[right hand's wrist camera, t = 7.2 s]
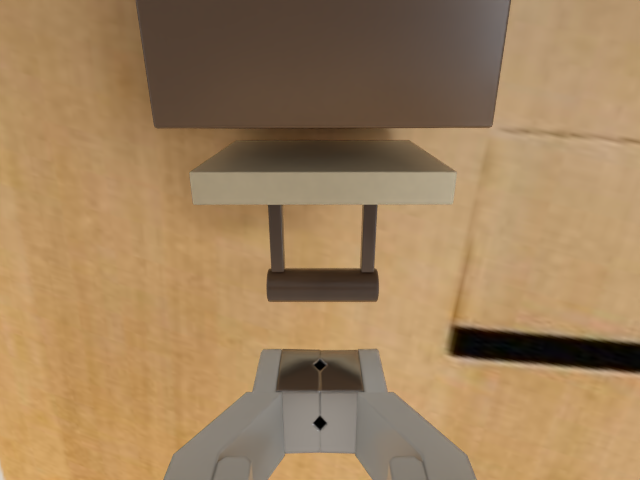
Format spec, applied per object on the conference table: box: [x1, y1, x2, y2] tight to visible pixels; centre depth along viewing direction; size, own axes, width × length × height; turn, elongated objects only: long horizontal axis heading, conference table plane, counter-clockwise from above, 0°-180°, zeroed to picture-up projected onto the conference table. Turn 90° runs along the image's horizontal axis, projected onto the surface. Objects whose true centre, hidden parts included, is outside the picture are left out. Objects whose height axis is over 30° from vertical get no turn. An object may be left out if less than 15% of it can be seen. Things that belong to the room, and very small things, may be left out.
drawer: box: [189, 140, 457, 302], centre depth 16 cm, size 24×9×8 cm, turn 0°
